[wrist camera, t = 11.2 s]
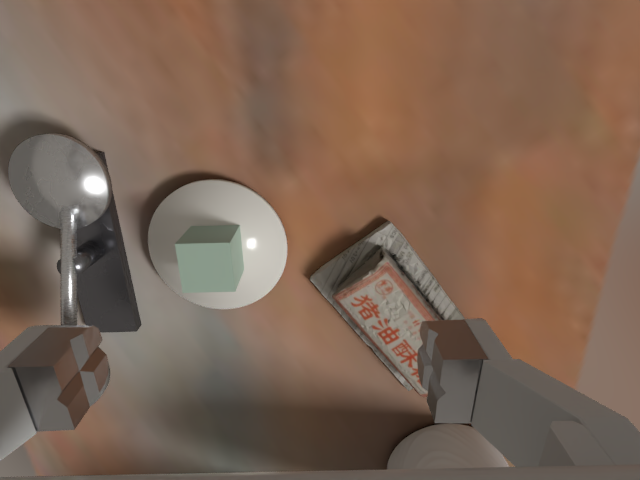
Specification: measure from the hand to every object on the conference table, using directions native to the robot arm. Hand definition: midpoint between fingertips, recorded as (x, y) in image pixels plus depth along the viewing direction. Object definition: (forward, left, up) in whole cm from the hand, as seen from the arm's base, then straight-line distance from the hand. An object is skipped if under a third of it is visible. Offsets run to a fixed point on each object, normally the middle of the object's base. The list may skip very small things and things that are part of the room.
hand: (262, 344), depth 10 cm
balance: (+8, -20, -28) cm, 35 cm away
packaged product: (+16, +10, -28) cm, 34 cm away
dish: (+8, -8, -28) cm, 30 cm away
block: (+8, -8, -26) cm, 29 cm away
